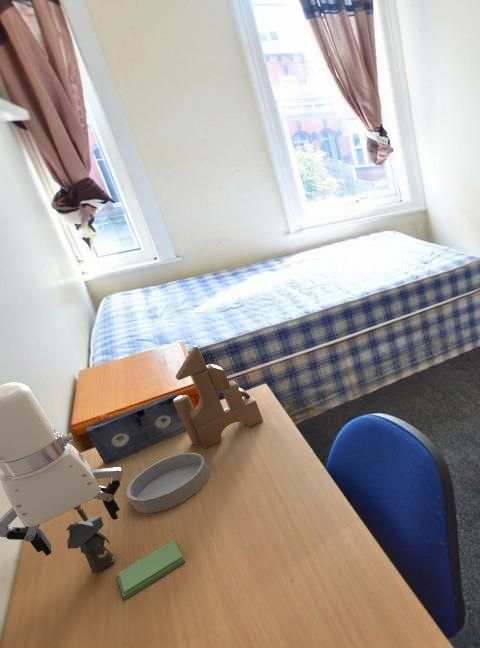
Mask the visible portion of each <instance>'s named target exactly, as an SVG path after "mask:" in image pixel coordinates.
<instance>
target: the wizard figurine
mask: <svg viewBox="0 0 480 648" xmlns="http://www.w3.org/2000/svg"><path fill="white" fill-rule="evenodd" d="M72 510H76V513H77V514H78V515H79V517H80V518H81V519H82V520H80V519H79V520H77V521H74V522H72V523H70V524H69V525H68V527H67V528H66V529H65V532H67V531H68V534H69V535H68V538H67V541H66V542H67V543H66V544H67V545H66V546H67V547H66V548H67V549H69V550H71V549H79V548H80V553H82V554H83V555H85V558H86V561H87V563H88V566H89V568H90V570H91V573H92V574H93V573H99V572H101V571H102V570H105V569H107V568H109V567H111V566H112V565H114V564H116V563H115V562H116V561H115V559H114V554H113V553H112V552H111V551H110V550H109V549H108V548H107V547H106V546H105V543H107V544H110V545H111V541H110V539H109V538H108V536H107V535H105V534H104V533H103V532H102V531H101V529H102V528H103V527H104V523H103V522H104V521H103V519H102V516H93V517H90V518H88V516H87V514H86V512H85V510H84V509H83V508H82V504H81V505H79V506H77V507H75V508H73V509H72Z"/></svg>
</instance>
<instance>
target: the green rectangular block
mask: <svg viewBox="0 0 480 648" xmlns="http://www.w3.org/2000/svg"><path fill="white" fill-rule="evenodd" d="M184 563H186V561H185V559H184V556H183V554H182V551H181V550H180V547H179V546H178V543H177V542H176V540H175V539H173V540H171V541H170V542H168V543H166V544H164V545H163V546H161V547H159V548H158V549H156V550H155V551H152V552H151V553H150V554H148V555H146V556H144V557H142V558H141V559H139V560H137V561H136V562H134V563H132V564H131V565H129V566H127V567H125V568H124V569H122V570H120V571H119V572H118V575H116V579H117V582H118V585H119V589H120V592H121V596H122V598H123V599H124V600H127V599H128V598H130V597H131V596H133V595H135V594H136V593H138V592H139V591H141V590H143V589H144V588H146V587H148V586H149V585H151V584H153V583H154V582H156V581H157V580H159V579H160V578H162V577H164V576H166V575H167V574H169V573H170V572H172V571H173V570H175V569H176V568H178V567H180V566H181V565H183V564H184Z"/></svg>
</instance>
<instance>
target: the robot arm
mask: <svg viewBox="0 0 480 648" xmlns="http://www.w3.org/2000/svg"><path fill="white" fill-rule="evenodd" d="M74 440H75V438H74V436H73V434H72V432H69V433H66V434H61V433H60V434H59V433H58V431H56V429H55V427H54V425H53V424H52V423H51V421H50V419H49V418H48V416H47V414H46V412H45V411H44V409H43V407H42V406H41V404H40V403H39V401H38V400H37V398H36V396H35V394H34V393H33V391H32V389H31V388H30V387H29V386H28V385H26V384H24V383H21V382H9V383H2V384H0V470H1V471H2V472H1V473H0V482H1V486H2V488H3V490H4V493H5V495H6V497H7V500H8V501H9V504H10V505H11V507H10V508H9V509H8V510H7V511H6V512H5V513H4V515H3V516H1V517H0V537H1V538H6V539H7V540H9V541H10V540H11V541H12V540H15V541H16V540H17V541H25V542H26V543H27V542H30V544H31V545H32V547H33V548H34V549H35V551H36V552H37V553H40V552H43V554H44V555H45V556H46V557H47V556H50V555H51V553H52V552H53V551H52V544H51V542H50V540H49V539H48V538H47V537H46V535H45V534H44V532H43V530H42V529H41V528H40V526H41V525H42V524H45V523H46V522H48V521H51V520H52V519H55V518H57V517H59V516H61V515H64V514H65V513H67V512H69V511H71V510H74V509H73V508H75V507H77V506H79V505H81V506H82V505H84V504H85V503H87V502H89V501H91V500H93V499H94V500H100V501H102V503H103V506H104V508H105V509H106V511H107V513H108V514H109V516H110V518H111V520H112V521H113V520H114V521H116V520H117V519H119V516H118V513H117V512H119V511H120V510H121V509H120V506H119V504H118V502H117V501H116V499H115V494H116V493H117V491H118V489H119V488H120V486H121V480H122V476H123V469H122V467H121V466H118V467H117V466H116V467H105V468H95V469H93V468H92V467H91V465H90V464H89V463H88V462H87V460H86V458H85V457H84V456H83V455H82V453H81V452H79V450H78V449H76V448H75V446H73V445H72V444H71V443H70V442H72V441H74ZM106 478H111V479H110V481H108V484H107V485H106V486H104V485H100V483H99V482H100V481H99V479H106ZM17 518H18V519H19V520H20V522H21V524H22V525H23V526H24V527H23V526H22V527H20V526H12V527H11V526H10V525H11V523H13V521H14V520H16V519H17Z"/></svg>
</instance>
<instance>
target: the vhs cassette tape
mask: <svg viewBox="0 0 480 648" xmlns="http://www.w3.org/2000/svg"><path fill="white" fill-rule="evenodd" d="M177 397H178V396H177V394H176V393H174V392H173V393H172V394H170V395H167V396H163V397H161V398H158V399H156V400H154V401H151V402H148V403H146V404H143V405H140V406H138V407H135V408H133V409H131V410H128V411H125V412H123V413H120V414H118V415H115V416H113V417H111V418H109V419H106V420H103V421H100V422H98V423H95V424H92V425H90V426H88V427H85V429H86V433H87V435H88V437H89V439H90V440H91V442H92V444H93V447H94V448H95V450H96V451H97V453H98V455H99V457H100V459H101V461H102V462H103V463H104V465H105V466H107V465H110V464H112V463H114V462H116V461H119V460H120V459H123V458H125V457H128V456H130V455H132V454H135V453H138V452H139V451H141V450H143V449H145V448H148V447H150V446H153V445H155V444H157V443H159V442H162V441H164V440H166V439H169V438H170V437H173V436H175V435H177V434H179V433H182V432H185V431H186V429H185V427H184V425H183V423H182V420H181V418H180V416H179V414H178V412H177V410H176V408H175V405H174V403H173V400H174V399H175V398H177Z"/></svg>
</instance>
